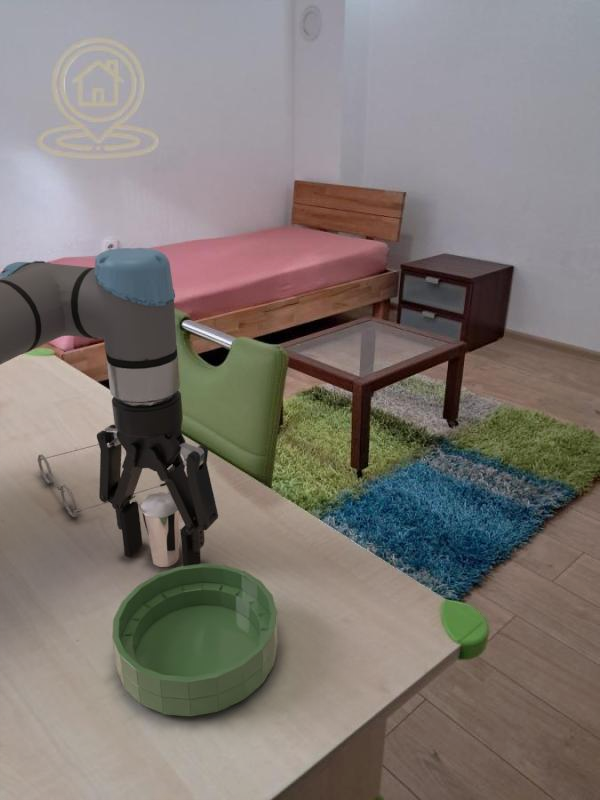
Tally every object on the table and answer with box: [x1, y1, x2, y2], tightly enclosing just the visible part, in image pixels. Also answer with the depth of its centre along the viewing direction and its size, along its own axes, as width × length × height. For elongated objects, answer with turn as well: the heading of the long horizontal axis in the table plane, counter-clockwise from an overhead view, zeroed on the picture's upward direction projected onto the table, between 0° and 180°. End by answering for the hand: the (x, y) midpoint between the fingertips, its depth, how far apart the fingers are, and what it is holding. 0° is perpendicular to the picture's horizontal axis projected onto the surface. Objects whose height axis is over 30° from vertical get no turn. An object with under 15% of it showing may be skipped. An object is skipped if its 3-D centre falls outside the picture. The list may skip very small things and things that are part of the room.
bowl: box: [111, 563, 278, 717], centre depth 65 cm, size 16×16×5 cm
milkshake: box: [134, 491, 180, 568], centre depth 77 cm, size 4×5×10 cm
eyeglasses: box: [36, 443, 167, 518], centre depth 97 cm, size 18×19×4 cm
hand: (162, 558), depth 79 cm, fingers open, 8 cm apart
